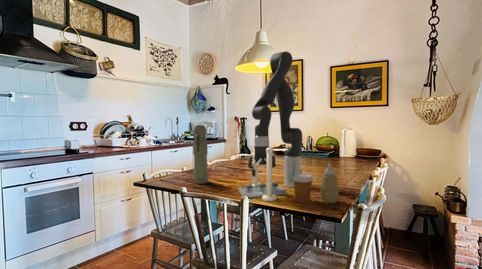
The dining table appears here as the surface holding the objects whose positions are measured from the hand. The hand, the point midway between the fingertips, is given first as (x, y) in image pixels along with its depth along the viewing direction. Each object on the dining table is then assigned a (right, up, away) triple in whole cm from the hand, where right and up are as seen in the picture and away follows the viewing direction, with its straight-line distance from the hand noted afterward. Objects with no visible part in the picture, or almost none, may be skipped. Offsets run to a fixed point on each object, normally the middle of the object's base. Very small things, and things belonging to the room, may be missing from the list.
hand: (261, 175), depth 143 cm
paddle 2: (+7, -5, +2) cm, 9 cm away
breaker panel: (0, -9, +1) cm, 9 cm away
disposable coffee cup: (+18, -10, -13) cm, 25 cm away
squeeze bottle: (+30, -10, -15) cm, 35 cm away
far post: (-3, -9, +11) cm, 14 cm away
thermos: (-36, -8, +26) cm, 45 cm away
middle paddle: (0, -5, 0) cm, 5 cm away
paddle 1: (-7, -5, -1) cm, 9 cm away
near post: (+3, -10, -10) cm, 14 cm away
